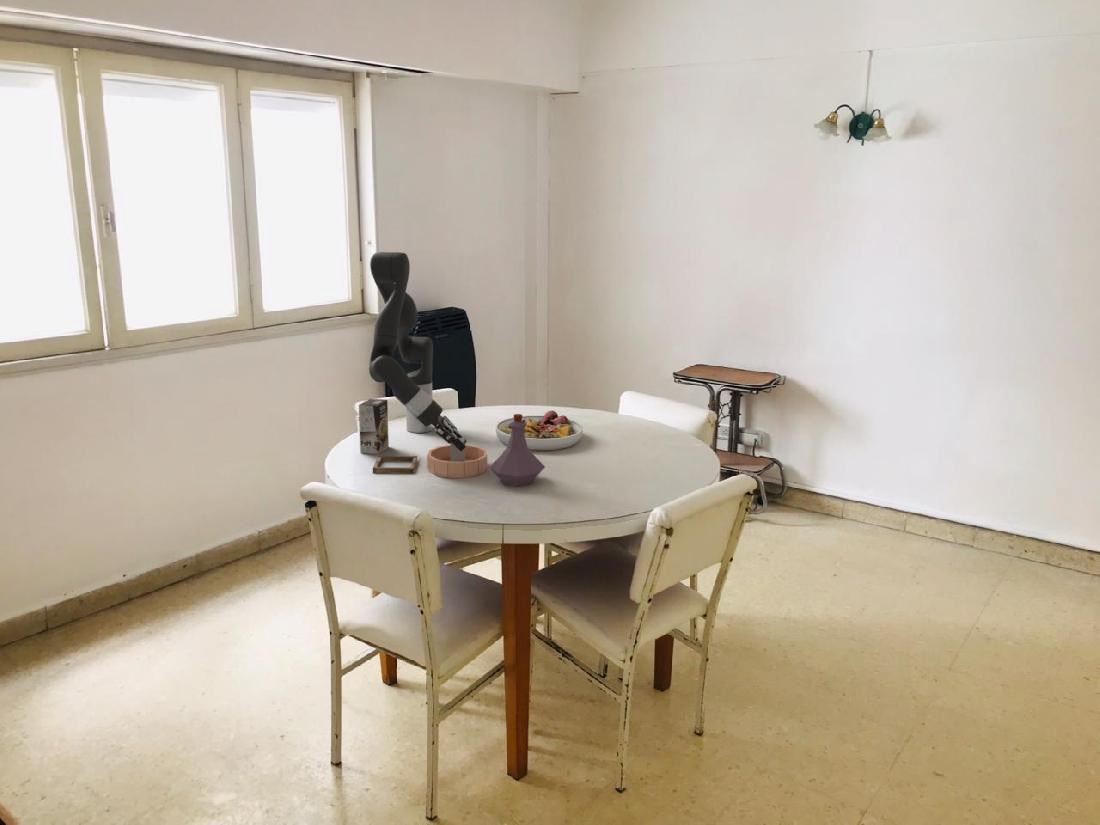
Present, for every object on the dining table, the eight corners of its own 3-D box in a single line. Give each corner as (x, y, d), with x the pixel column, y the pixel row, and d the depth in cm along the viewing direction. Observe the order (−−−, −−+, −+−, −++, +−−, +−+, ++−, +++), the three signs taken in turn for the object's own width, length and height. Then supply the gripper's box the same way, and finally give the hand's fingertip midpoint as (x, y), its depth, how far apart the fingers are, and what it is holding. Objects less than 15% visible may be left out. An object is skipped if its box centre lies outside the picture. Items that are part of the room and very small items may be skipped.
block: (451, 462, 247) (451, 437, 244) (464, 462, 247) (464, 437, 245) (450, 466, 243) (450, 441, 241) (463, 466, 243) (463, 441, 241)
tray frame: (378, 460, 250) (378, 455, 250) (417, 460, 251) (417, 456, 251) (372, 473, 239) (372, 468, 238) (413, 473, 239) (413, 468, 239)
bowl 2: (567, 458, 258) (567, 434, 256) (481, 447, 267) (481, 424, 265) (592, 434, 286) (593, 412, 284) (514, 425, 295) (514, 404, 293)
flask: (477, 481, 234) (477, 415, 229) (515, 468, 247) (516, 405, 241) (518, 494, 224) (519, 426, 219) (556, 480, 236) (558, 415, 231)
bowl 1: (431, 458, 253) (430, 444, 252) (488, 459, 254) (488, 444, 253) (425, 477, 236) (425, 462, 235) (486, 478, 237) (486, 462, 236)
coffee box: (378, 454, 256) (376, 405, 252) (359, 453, 257) (357, 404, 253) (389, 446, 264) (388, 399, 260) (371, 445, 266) (369, 397, 262)
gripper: (430, 404, 232) (471, 445, 236) (434, 393, 246) (473, 431, 250) (411, 422, 233) (453, 462, 237) (417, 409, 247) (456, 447, 251)
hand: (463, 446), depth 243 cm, fingers open, 4 cm apart
